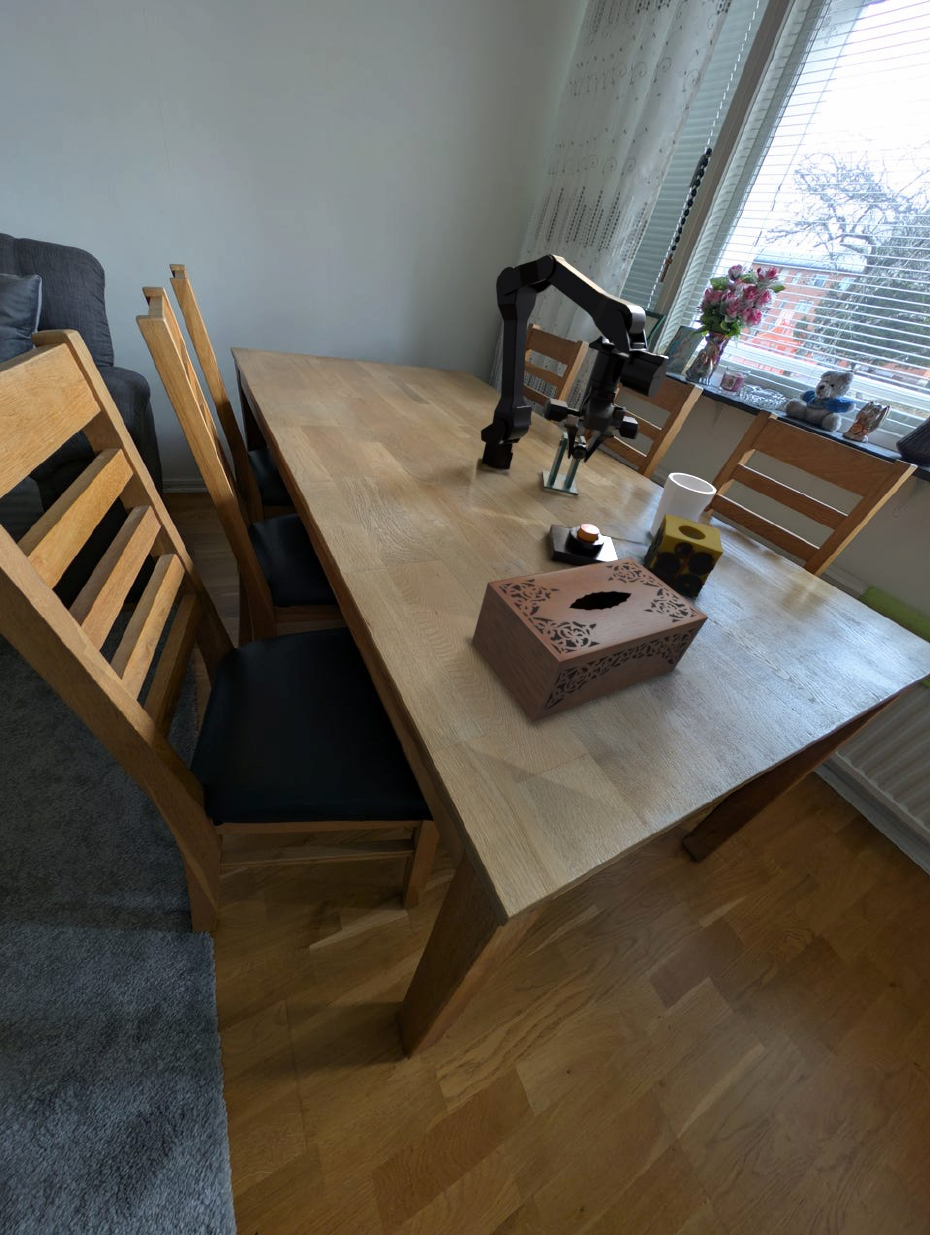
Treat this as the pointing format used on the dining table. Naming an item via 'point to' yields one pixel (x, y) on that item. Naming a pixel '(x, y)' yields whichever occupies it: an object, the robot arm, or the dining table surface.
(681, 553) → the yellow cube tissue box
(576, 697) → the tissue box cover
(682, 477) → the foam cup
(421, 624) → the dining table surface
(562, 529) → the button box
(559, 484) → the teal pendulum stand
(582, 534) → the button
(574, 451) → the lever
